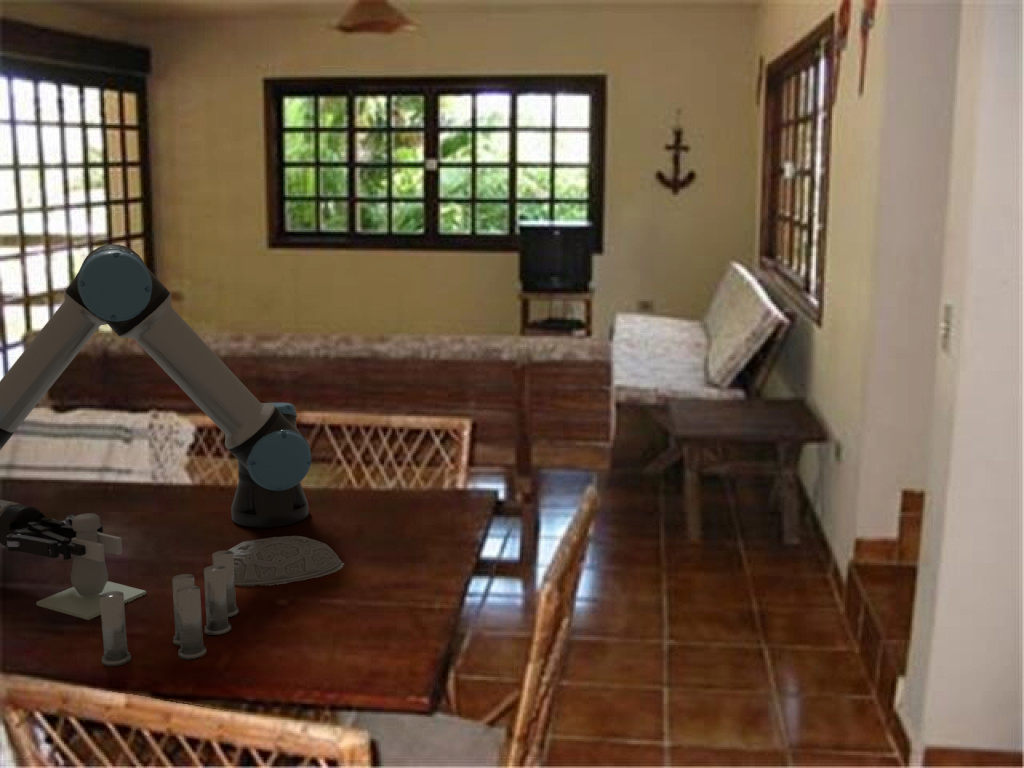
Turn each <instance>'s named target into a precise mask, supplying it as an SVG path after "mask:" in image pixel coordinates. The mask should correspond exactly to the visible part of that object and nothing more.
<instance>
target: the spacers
mask: <svg viewBox="0 0 1024 768" xmlns="http://www.w3.org/2000/svg"><path fill="white" fill-rule="evenodd" d="M211 556H212V565H210V566H207V567H205V568H203V580H204V599H205V601H204V602H205V615H206V618H205V619H206V625H205V626H204V627H203V618H202V615H203V614H202V601H201V587H199V586H198V585H196V583H195V576H194V575H193V574H190V573H182V574H177V575H174V576H173V577H172V578H171V581H172V583H171V585H172V601H173V603H172V604H173V614H174V615H173V617H174V630H175V631H174V633H175V635H174V636H173V638H172V643H173V645H174V646H178V647H180V648H179V649H178V651H177V655H178V658H179V659H181V660H183V661H184V660H186V661H192V660H191V659H194V660H197V659H196V658H198V659H200V658H199V657H201V656H203V655H204V654H206V655H207V653H206V652H207V647H206V646H205V645H204V637H203V636H204V634H205V633H206V634H205V635H207V634H208V635H207V636H210V635H220V634H224V633H227V632H229V631H230V630H231V631H232V624H231V623H229V618H228V617H231V618H233V617H232V616H234V615H236V616H238V615H239V614H238V612H239V613H240V611H239V610H240V609H239V607H238V606H237V599H236V598H237V597H236V586H235V577H234V558H233V552H232V551H228V550H226V549H225V550H218V551H215V552H213V553H212V555H211ZM100 606H101V615H100V619H101V630H102V641H103V642H102V643H103V644H102V645H103V655H102V657H101V664H102V665H103V666H106V667H118V666H123V665H126V664H128V663H129V662H130V661H131V659H132V655H131V652H129V651H128V637H127V625H126V611H125V604H124V595H123V593H122V592H120V591H110V592H106V593H103V594H101V595H100ZM237 614H238V615H237ZM234 617H235V616H234ZM203 628H204V629H203ZM203 630H204V634H203ZM231 631H230V632H231ZM230 632H229V633H230ZM227 634H228V633H227ZM224 635H225V634H224ZM220 636H221V635H220ZM203 657H204V656H203ZM201 658H202V657H201ZM127 662H128V663H127ZM125 663H126V664H125Z"/></svg>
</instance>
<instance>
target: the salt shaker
mask: <svg viewBox="0 0 1024 768" xmlns="http://www.w3.org/2000/svg"><path fill="white" fill-rule="evenodd" d="M74 516H75V517H74V518H73V519H72V527H73V530H74V531H75V532H77V533H76V538H78V539H84V540H88V541H92V542H96V543H99V538H98V532H97V530H98V529H99V528H100V525H101V517H100V516H99V515H98V514H96V513H92V512H87V513H81V514H78V515H74ZM72 556H73V558H72V565H71V573H70V583H71V585H72V587H74V588H75V589H76V590H77V592H78V593H79V595H82V596H92V595H96V594H99V593H102V591H103V589H104V587H105V585H106V583H107V581H109V573H108V568H107V565H106V561H102V562H99V561H95V560H91V559H88V558H84V557H80V556H76V555H72Z"/></svg>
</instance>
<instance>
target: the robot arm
mask: <svg viewBox="0 0 1024 768" xmlns="http://www.w3.org/2000/svg"><path fill="white" fill-rule="evenodd" d="M63 294H64V295H63V296H64V301H63V302H62V303H61V305H59V307H58V309H56V311H55V312H54V313H53V314H52V316H51V317H50V318H49V319H48V321H47V322H46V324H45V325H44V326H43V327H42V328H41V329H40V331H39V332H38V333H37V334H36V335H35V337H34V338H33V339H32V341H31V342H30V343H29V344H28V346H27V347H26V348H25V349H24V351H23V352H22V353H21V354H20V356H19V357H18V358H17V359H16V361H15V362H14V363H13V364H12V366H10V368H9V370H7V372H6V373H5V374H4V376H3V377H2V378H1V379H0V451H1V450H2V449H3V447H4V446H5V445H6V444H7V443H8V442H9V440H10V439H11V437H13V434H14V433H15V432H16V431H17V430H18V428H19V427H20V426H21V425H22V423H23V422H24V421H25V420H26V419H27V417H28V416H29V415H30V413H32V411H33V410H34V409H35V407H36V406H37V405H38V403H40V401H41V399H42V398H43V397H44V396H45V395H46V394H47V392H48V391H49V390H50V389H51V388H52V386H53V385H54V383H56V381H57V380H58V379H59V377H60V376H61V375H62V374H63V372H64V371H65V370H66V369H67V368H68V366H69V365H70V364H71V363H72V361H73V360H74V359H75V358H76V356H77V355H78V354H79V353H80V351H81V350H82V349H83V347H84V346H85V345H86V344H87V343H88V341H89V340H90V339H91V338H92V337H93V335H94V334H95V333H96V332H97V331H98V330H99V328H100V327H101V326H105V325H108V326H109V328H110V329H112V330H113V331H114V333H116V334H117V336H118V337H119V338H122V339H123V338H124V339H126V338H127V339H132V340H134V341H135V342H136V343H137V344H138V345H139V346H140V347H141V348H142V350H144V351H145V352H146V353H147V354H148V355H149V356H150V358H152V359H153V361H154V362H156V364H157V365H158V366H159V367H160V368H161V369H162V370H163V371H164V372H165V373H166V374H167V375H168V376H169V377H170V378H171V380H172V381H174V382H175V384H177V386H179V388H180V389H181V390H182V391H183V392H184V393H185V394H186V395H187V396H188V397H189V399H191V400H192V401H193V402H194V404H195V405H196V406H197V407H198V408H199V409H200V410H201V411H202V412H203V413H204V414H205V415H206V416H207V417H208V419H209V420H211V421H212V422H213V423H214V424H215V425H216V426H217V427H218V429H219V430H220V431H222V432H223V434H224V437H225V439H224V441H225V442H224V446H225V448H226V449H227V450H228V451H229V453H231V455H233V457H235V458H236V460H237V469H238V470H237V471H238V483H237V485H236V490H235V493H234V497H233V499H232V504H231V509H230V513H231V520H232V522H233V523H235V524H237V525H240V526H244V527H247V528H248V527H249V528H276V527H283V526H289V525H293V524H297V523H300V522H301V521H303V520H304V519H306V518H307V517H308V516H309V502H308V499H307V497H306V494H305V491H304V489H303V485H302V483H301V482H302V481H303V480H304V479H305V478H306V476H307V474H308V473H309V471H310V469H311V465H312V453H311V452H312V451H311V446H310V444H309V442H308V440H307V439H306V438H305V437H304V436H303V434H302V433H301V432H300V430H299V429H298V427H297V418H298V414H297V411H296V406H295V405H294V404H292V403H290V402H263V403H262V402H260V400H258V398H257V397H256V396H255V395H254V394H253V393H252V392H251V391H250V390H249V389H248V388H247V387H246V385H245V384H244V383H242V381H241V380H240V379H239V378H238V377H237V376H236V375H235V373H233V371H232V370H231V369H230V368H229V367H228V366H227V365H226V364H225V363H224V362H223V361H222V360H221V358H219V356H217V354H216V353H215V352H214V351H213V350H212V349H211V348H210V346H208V345H207V343H206V342H205V341H204V340H203V339H202V338H201V337H200V336H199V335H198V333H197V332H196V331H194V329H193V328H192V327H191V326H190V325H189V324H188V323H187V321H185V320H184V319H183V317H182V316H181V315H180V314H179V313H178V312H177V311H176V310H175V309H174V308H173V306H172V293H171V291H169V290H168V288H167V287H166V286H165V285H164V284H163V283H162V282H161V281H160V280H159V279H158V277H156V276H155V274H154V273H153V272H152V271H151V270H150V269H149V268H148V267H147V265H146V263H145V262H144V260H143V258H142V257H141V256H140V255H139V254H138V253H137V252H136V251H134V250H133V249H131V248H130V247H127V246H124V245H121V244H115V243H114V244H111V243H110V244H105V245H100V246H98V247H97V248H95V249H93V250H91V251H90V252H89V253H88V254H87V255H86V257H85V258H84V259H83V261H82V263H81V265H80V268H79V270H78V271H77V273H76V274H75V277H73V280H72V281H71V282H70V284H69V285H68V287H67V288H66V289H65V290H64V292H63ZM75 516H76V515H74V514H68V515H66V518H65V519H64V520H58V519H57V518H51V517H46V515H44V513H43V512H42V511H41V510H40V509H38V508H37V507H36V506H35V507H34V506H31V505H25V504H23V503H22V504H21V503H18V502H15V501H8V500H5V499H0V547H1V548H7V552H20V553H26V554H31V555H34V556H35V555H36V556H41V557H46V558H52V559H57V558H59V557H60V555H62V556H63V560H65V561H68V560H71V559H72V556H74V555H76V556H80V557H84V558H88V559H91V560H95V561H99V562H102V561H105V559H106V557H105V552H106V553H109V554H113V555H117V556H120V555H122V554H123V544H122V543H123V542H122V537H120V536H115V535H111V534H107V533H104V527H103V525H101V524H100V528H99V529H98V530H97V532H98V538H99V543H96V542H92V541H88V540H84V539H78V538H76V533H77V532H75V531H74V530H73V527H72V519H73V518H74V517H75ZM105 562H106V561H105Z"/></svg>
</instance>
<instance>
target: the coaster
mask: <svg viewBox="0 0 1024 768" xmlns="http://www.w3.org/2000/svg"><path fill="white" fill-rule="evenodd" d="M110 591H120V592H122V593H123V595H124V605H126V604H128V603H130V602H133V601H135V600H137V599H139V598H141V597H143V595H144V596H146V595H147V591H146V590H144V589H139V588H136V587H132V586H129V585H125V584H121V583H117V582H112V581H111V580H110V581H109V580H107V583H106V585H105V587H104V589H103V591H102V593H99V594H96V595H92V596H82V595H79V593H78V592H77V590H76V589H75V588H74V586H72V587H70V588H67V589H64V590H63V591H59V592H57V593H54V594H52V595H50V596H47V597H45V598H42V599H40V600H38V601H35V602H36V606H37V607H38V606H39V607H42V608H44V609H49V610H52V611H55V612H58V613H63V614H66V615H70V616H73V617H76V618H81V619H83V620H87V621H89V620H92V619H94V618H96V617H98V616H101V606H100V595H101V594H103V593H106V592H110ZM145 594H146V595H145ZM138 597H139V598H138ZM136 598H137V599H136ZM134 599H135V600H134ZM127 602H128V603H127ZM125 603H126V604H125Z"/></svg>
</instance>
